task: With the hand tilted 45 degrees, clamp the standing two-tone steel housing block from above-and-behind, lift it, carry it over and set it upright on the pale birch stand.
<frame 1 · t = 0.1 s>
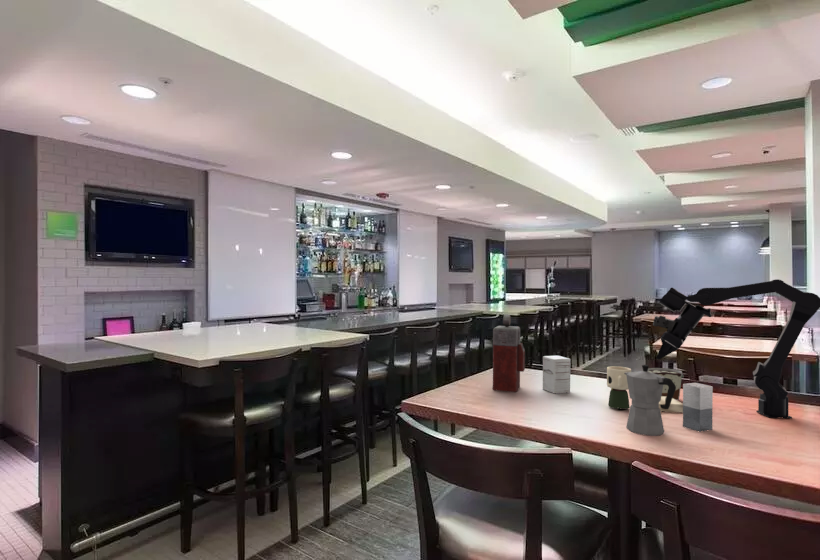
hand: (658, 357, 158), 15 cm above the table, tool tilted 35°, fingers open, 9 cm apart
stand: (660, 407, 149), on the table
red thermos flask: (509, 389, 173), on the table
food container: (660, 398, 162), on the table
housing: (697, 428, 128), on the table
character mug: (618, 409, 147), on the table
coffeepot: (648, 432, 124), on the table
supplement box: (556, 391, 171), on the table
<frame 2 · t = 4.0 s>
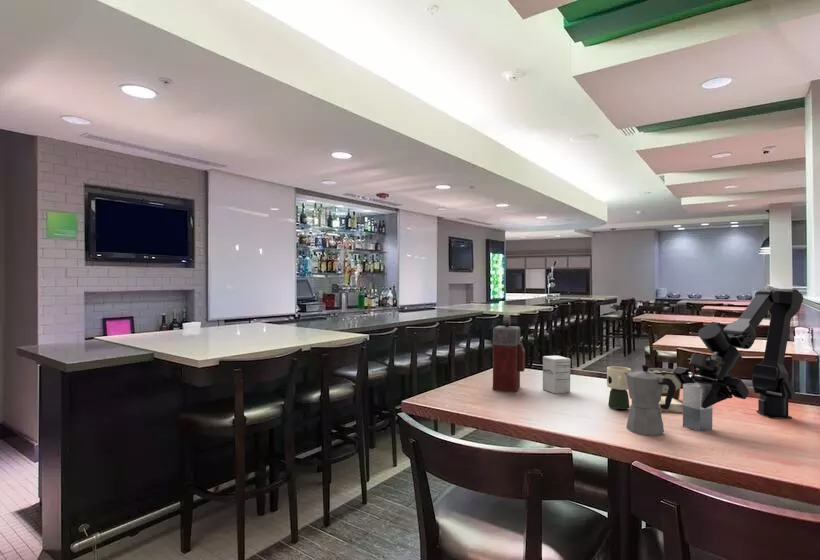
hand: (694, 404, 127), 7 cm above the table, tool tilted 45°, fingers closed on housing, 5 cm apart
housing: (697, 428, 128), on the table, touching gripper
everything else where it was.
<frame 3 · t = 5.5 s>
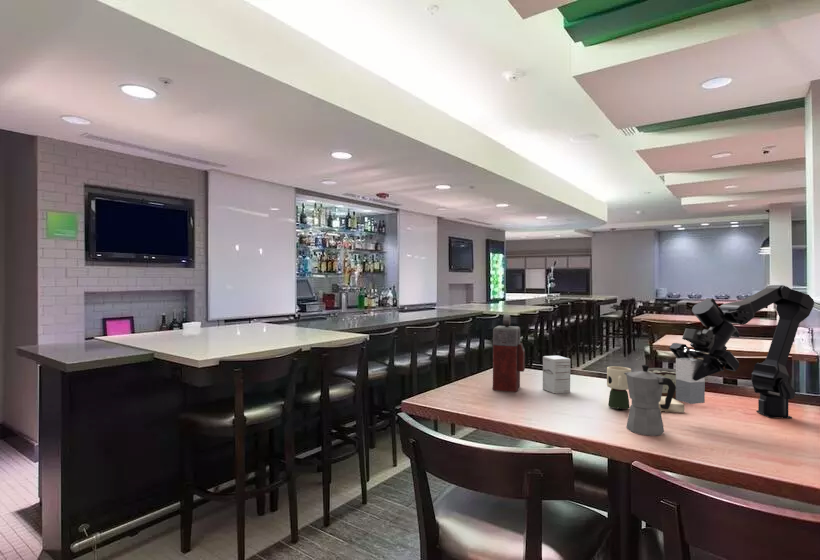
hand: (686, 377, 131), 13 cm above the table, tool tilted 45°, fingers closed on housing, 5 cm apart
housing: (690, 401, 132), point 7 cm above the table, touching gripper
everything else where it was.
when the fingers open (10 cm above the table, at t = 7.4 s): housing stays where it is, resting on stand.
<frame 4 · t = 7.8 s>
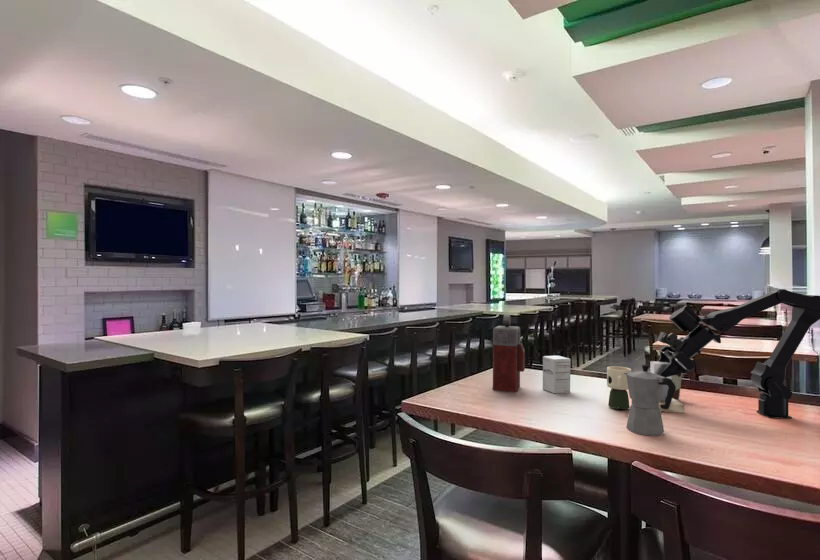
hand: (655, 374, 149), 11 cm above the table, tool tilted 45°, fingers open, 9 cm apart
housing: (660, 399, 149), point 2 cm above the table, touching stand
everything else where it was.
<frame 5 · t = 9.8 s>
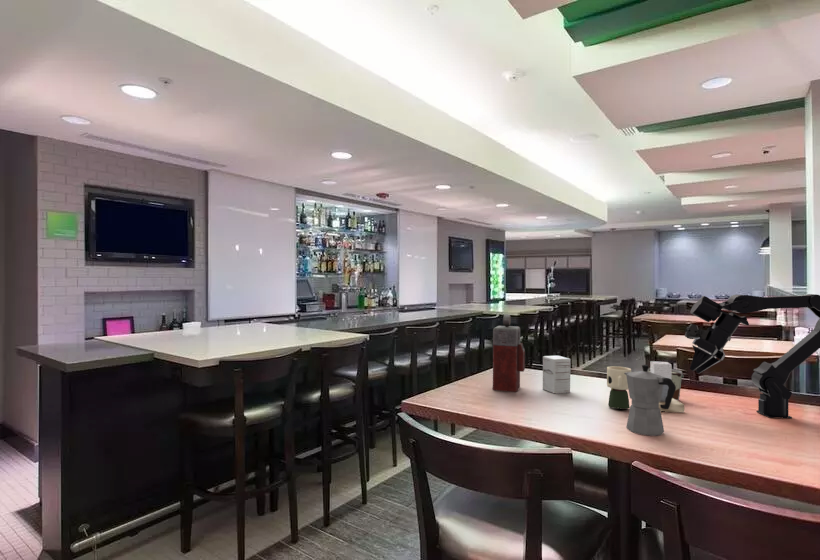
hand: (694, 371, 147), 12 cm above the table, tool tilted 30°, fingers open, 9 cm apart
nothing on the table moved.
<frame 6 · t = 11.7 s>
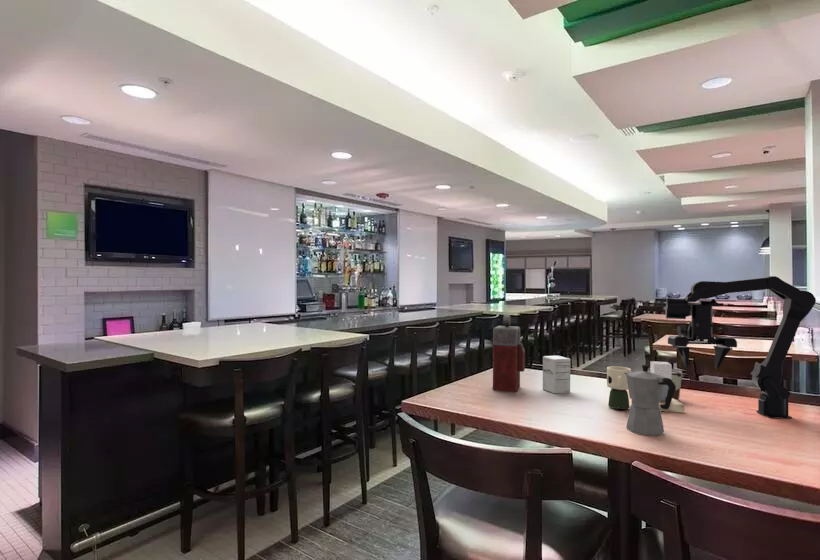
hand: (701, 368, 148), 13 cm above the table, tool pointing down, fingers open, 9 cm apart
nothing on the table moved.
at the end: housing inside the target area on the stand (0.0 cm from its centre), point 2.5 cm above the stand's base; housing tilted 0°; the gripper is holding nothing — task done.
